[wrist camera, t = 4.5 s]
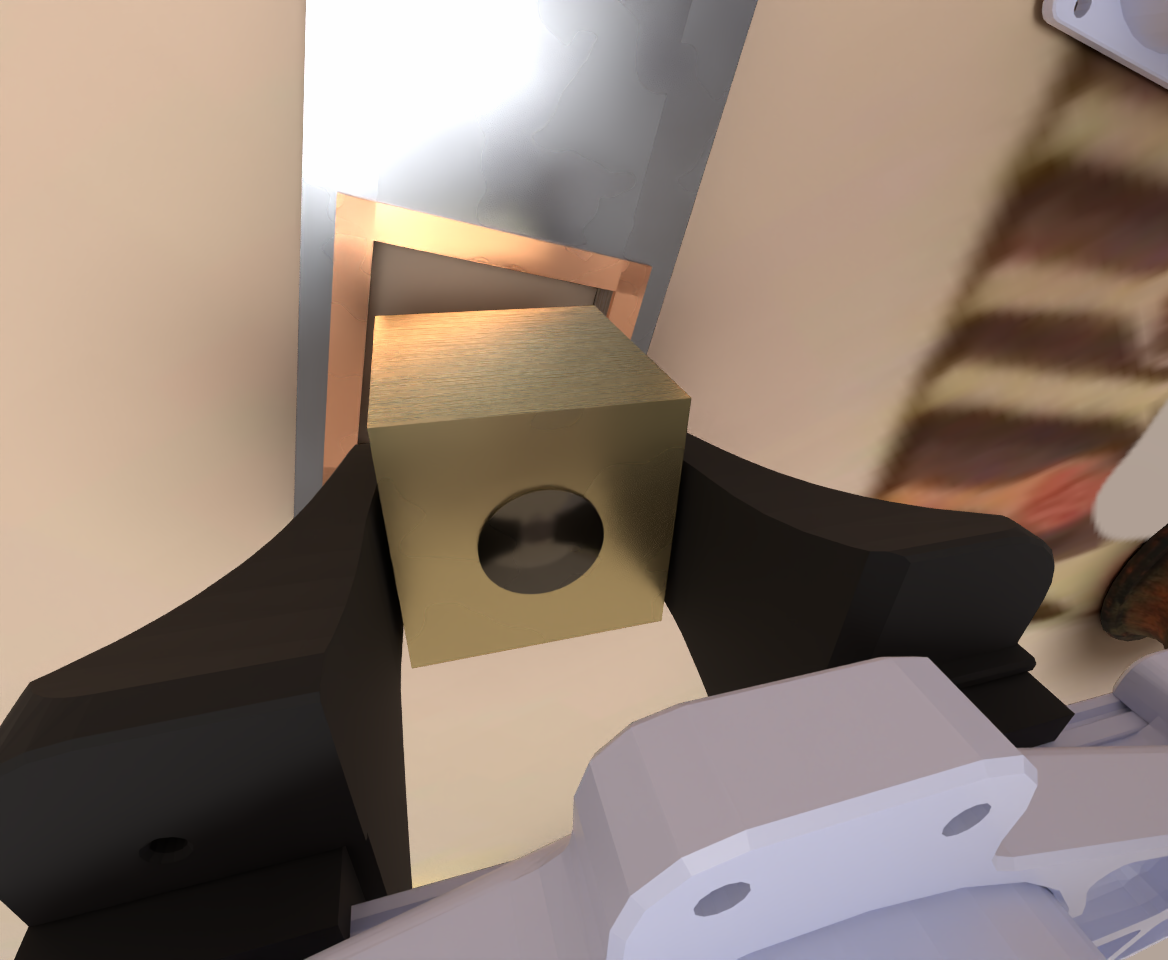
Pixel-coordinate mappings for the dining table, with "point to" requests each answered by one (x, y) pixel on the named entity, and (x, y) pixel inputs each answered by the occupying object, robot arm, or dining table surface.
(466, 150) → the rail
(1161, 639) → the pitcher
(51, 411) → the dining table surface
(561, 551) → the brass cube with hole
